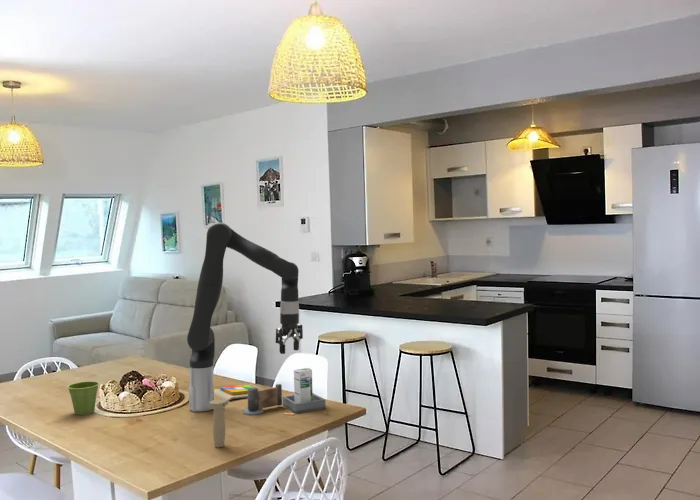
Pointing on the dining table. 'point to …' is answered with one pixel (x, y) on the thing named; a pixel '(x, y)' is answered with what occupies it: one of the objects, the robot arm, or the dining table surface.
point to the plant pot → (83, 396)
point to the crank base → (259, 412)
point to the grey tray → (303, 404)
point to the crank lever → (264, 397)
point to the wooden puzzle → (234, 391)
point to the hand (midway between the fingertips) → (289, 351)
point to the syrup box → (303, 385)
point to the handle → (218, 421)
